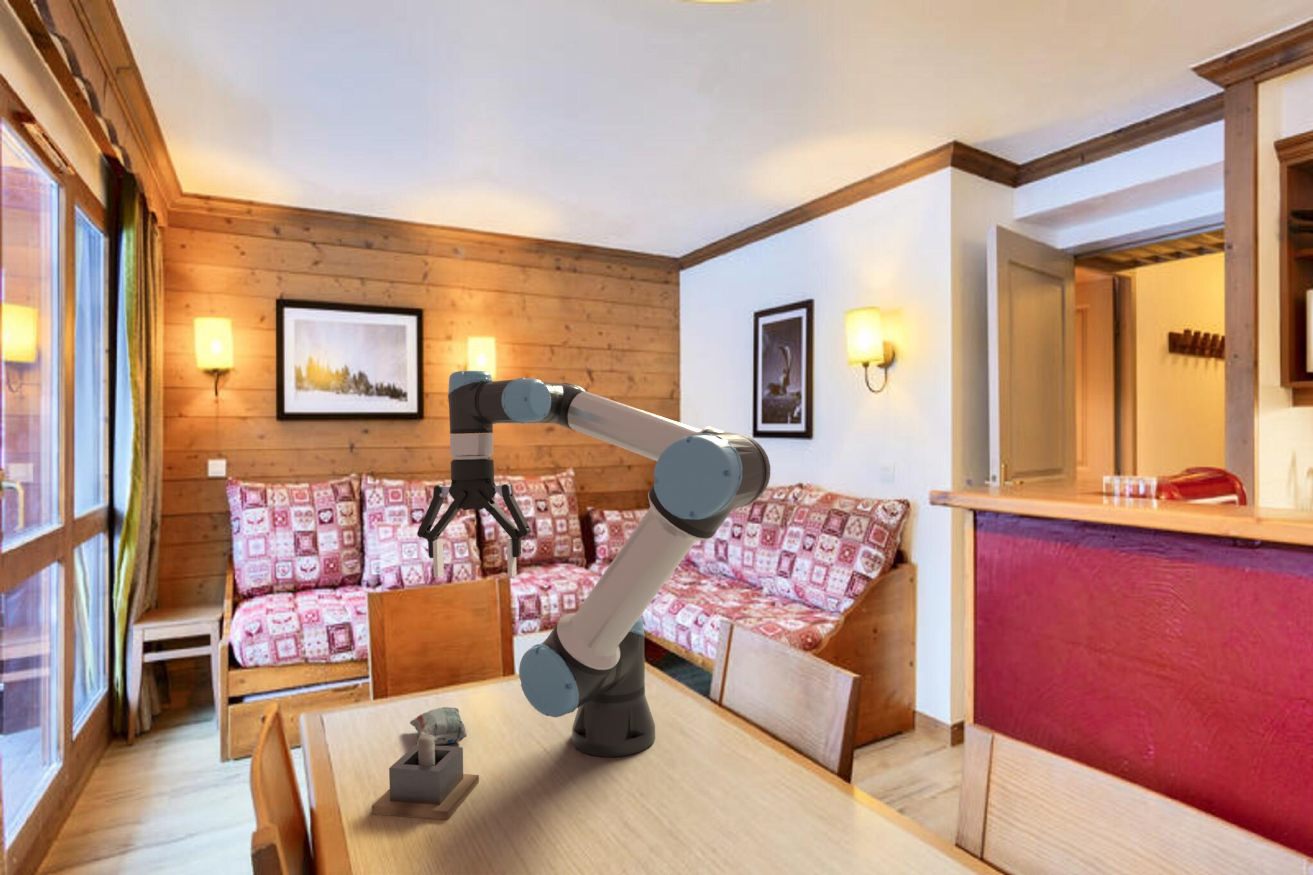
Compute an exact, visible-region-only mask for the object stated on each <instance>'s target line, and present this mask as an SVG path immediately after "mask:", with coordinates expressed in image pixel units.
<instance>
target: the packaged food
mask: <svg viewBox="0 0 1313 875" xmlns="http://www.w3.org/2000/svg"><path fill="white" fill-rule="evenodd" d="M409 724H410V725H411V726H413V727H414V729H415V731H416V732H417V733H418V738H419V737H421V736H424V735H433V736H434V739H435V746H444V745H451V744H454V743H458V742H461V741H463V739H464V738H465V737H467V734H468V733H467V730H466V727H465V724H464V722H463V720H462V718H461V716H460V711H459V709H458V707H448V706H447V707H446V706H443V707H439V708H433V709H430V710H429V711H426V712H424V713H422V714H418V715H417V716H416V717H414V719H412V720H410V721H409ZM416 745H418V741H417V742H416Z"/></svg>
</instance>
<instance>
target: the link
mask: <svg viewBox="0 0 1313 875" xmlns="http://www.w3.org/2000/svg"><path fill="white" fill-rule="evenodd" d="M388 771H389V773H388V774H389V777H388V778H389V789H390V801H393V802H406V803H419V804H433V805H440V804H441V803H442V802H443V801H444V800H445V799H446V798H447V796H448V795H449V794H450V793H451V792H452V791H453V790H454V789H455V787H456V786H457V785H458V784H459V783H460V782H461V781H462V780H463V774H464V749H463V747H462V746H447V745H435V766H422V765H419V759H418V745H417V744H415V745H414V746H412V748H410V749H409V750H408V751H407V752H406V753H405V754H404V755H402V756H401V757H399V759H398V760H397V761H395V762H394V763H393V764H392V765H391V766H390V767H389V768H388Z"/></svg>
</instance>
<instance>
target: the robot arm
mask: <svg viewBox="0 0 1313 875" xmlns="http://www.w3.org/2000/svg"><path fill="white" fill-rule="evenodd" d="M447 398H448V407H449V408H448V409H449V410H448V412H449V413H448V416H449V448H450V449H449V455H450V456H451V457H453V459H451V461H450V481H451V484H450V486H447V485H444V484H438V485H434V487H433V493H432V499H431V501H430V503H429V506H428V508H427V510H426V512H425V515H424V517H423V519H422V522H421V523H420V526H419V527H418V530H417V532H416V535H417V537H419V538H423V539H425V540H427V546H428V549H427V552H428V557H429V558H430V559H433V560H432V561H433V578H440V577H441V576H443V575H445V572H444V571H445V568H444V567H445V566H444V559H445V558H444V539H443V538H440V536H441V534H442V533H444V530H445V529H446V528H447V527H448V526H449V524H450V523H451V522H452V520H453V519H454V518H455V517H456V515H457V514H458V513H459V512H460V511H461V510H463V511H469V510H474V511H481V510H484V509H485V511H486V512H487V513H489V514H490V515H491V517H492V518H494V520H495V521H496V522H497V523H498V524H499V525H500V527H501V528H502V529H503V530H504V531H505V533H506V534H507V535H508V536H509V537H510V538H509V539H506V551H507V552H506V554H507V555H506V557H507V558H506V563H507V578H513V577H514V576H516V575H517V573H518V572H517V558H519V557H520V556H521V555H522V538H523V537H525V536H527V535H530V534H531V532H532V530H531V527H530V524H529V523H528V521H527V519H526V517H525V515H524V513H523V511H522V509H521V508H520V505H519V504H518V502H517V500H516V498H515V496H514V491H513V485H512V483H510V482H509V483H505V484H501V485H496V483H495V464H494V463H495V460H494V459H493V458H491V456H493V455H494V425H495V424H556V425H558V426H561V427H565V428H567V429H569V430H572V431H576V432H578V433H581V434H584V435H586V436H589V437H592V438H594V439H597V440H600V441H602V442H605V443H607V444H611V445H614V446H616V447H619V448H622V449H623V450H626V451H629V452H632V453H634V454H636V455H639V456H642V457H645V458H648V459H650V460H653V461H656V464H655V466H654V470H653V478H654V484H653V485H652V486H651V488H650V490H649V491H648V493H647V498H648V502H649V509H648V510H647V511H646V513H645V514H644V515H643V517H642V519H641V520H640V521H639V523H638V524H637V526H636V527H635V528H634V530H633V531H632V532H631V534H630V536H629V537H628V538H627V540H626V542H625V543H624V545H623V546H622V547H621V549H620V550H619V551H618V553H617V554H616V556H615V557H614V558H613V560H612V562H610V564H609V566H607V568H606V570H605V571H604V572H603V574H602V575H601V576H600V578H599V580H598V581H597V582H596V584H595V585H594V587H593V588H592V590H591V591H590V592H589V594H588V596H587V597H586V598H585V599H584V601H583V603H581V605H580V607H579V609H578V610H577V611H576V612H571V613H567V614H565V615H563V616H562V617H561V618H560V619H559V621H558V622H557V623H556V625H555V626H554V628H553V629H552V630H551V632H550V633H549V635H548V636H547V638H546V639H545V640H544V641H542V642H541V643H537V644H534V645H533V646H531V648H529V649H528V650H527V651H526V652H524V654H523V655H522V657H521V659H520V662H519V667H518V678H519V680H520V686H521V687H520V688H521V690H522V692H523V695H524V696H525V699H526V700H527V701H528V702H529V704H530V705H531V707H533V708H534V709H535V710H536V711H537V712H539V713H540V714H541V715H544V716H545V717H546V716H547V717H551V718H559V717H563V716H565V715H568V714H571V713H573V712H574V711H576V715H575V718H574V721H573V724H572V726H571V727H572V728H571V741H572V745H573V746H574V748H576V749H577V750H579V751H580V752H582V753H585V754H588V755H591V756H596V757H607V758H611V757H613V758H614V757H622V756H623V757H624V756H629V755H634V754H637V753H639V752H642V751H645V750H646V749H648V748H649V747H651V746H652V745H653V743H654V742H655V741H656V723H655V720H654V718H653V714H652V712H651V709H650V705H649V702H648V700H647V697H646V687H645V686H646V682H645V681H646V680H645V679H646V676H645V673H646V670H645V664H646V663H645V637H646V634H645V629H644V620H643V617H641V616H642V615H643V613H644V612H645V611H646V609H648V607H649V605H650V604H651V603H652V602H653V600H654V598H656V596H657V594H659V592H660V590H661V589H662V588H663V586H664V585H665V584H666V582H667V581H668V580H669V579H670V577H671V576H672V574H673V573H674V571H675V570H676V569H677V568H678V566H679V565H680V564H681V563H682V561H683V560H684V559H685V557H686V556H687V554H688V553H689V552H690V550H691V549H692V547H693V546H694V545H695V544H696V543H697V542H698V541H708V540H711V539H712V538H713V537H714V535H715V534H716V532H718V530H719V528H720V527H721V526H722V525H723V523H724V522H725V520H727V518H728V517H729V515H731V513H732V512H733V510H736V509H739V508H744V507H746V506H748V505H751V504H753V503H754V502H755V501H757V500H759V498H760V497H761V496H763V494H764V492H765V491H766V489H767V487H768V485H769V483H770V479H771V463H770V460H769V457H768V454H767V452H766V450H765V449H764V448H763V446H761V444H760V443H759V442H757V441H756V440H755V439H754V438H752V437H750V436H747V435H744V434H740V433H734V432H731V431H730V432H729V431H726V430H722V429H720V428H719V429H718V428H715V427H713V426H706V427H704V428H703V429H699V428H695V427H693V426H690V425H687V424H684V423H681V422H679V421H675V420H672V419H669V418H666V417H664V416H661V415H657V414H654V413H652V412H648V411H647V410H646V411H645V410H642V409H639V408H637V407H633V406H631V405H627V404H624V403H622V402H619V401H616V400H612V399H610V398H607V397H604V396H601V395H599V394H598V395H597V394H596V393H595V394H594V393H592V392H588V391H586V390H585V389H584V388H583V387H582V386H581V385H580V386H579V385H576V384H572V383H568V382H562V383H557V382H547V381H542V380H541V379H538V378H529V377H527V378H526V377H519V378H516V379H515V378H514V379H505V380H496V381H493V379H492V374H491V373H490V372H489V371H484V370H483V371H482V370H464V371H463V370H460V371H459V370H458V371H454V372H452V373H451V374H450V376H449V379H448V394H447ZM496 493H498V495H499V496H500V497H502V499H503V502H504V503H505V505H506V507H507V510H508V512H509V514H510V515H511V517H512V519H513V521H514V523H515V524H514V523H513V521H512V520H511V519H510V518H509V517H508V516H507V515H506V513H505V512H504V511H503V510H502V509H501V507H499V504H498V503H497V502H496V501H495V498H494V496H495V495H496ZM448 495H450V496H451V497H452V499H453V501H452V502H451V503H450V505H449V506H448V507H447V510H446V511H445V513H443V515H442V516H441V518H440V519H439V520H438V521H437V522H436V524H435V525H434V523H435V521H436V518H437V517H438V514H439V512H440V509H441V508H442V505H443V503H444V502H445V501H444V500H445V498H447V496H448ZM433 526H434V527H433ZM432 527H433V528H432Z"/></svg>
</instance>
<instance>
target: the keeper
mask: <svg viewBox="0 0 1313 875" xmlns="http://www.w3.org/2000/svg"><path fill="white" fill-rule="evenodd" d="M417 742H418V759H419V765H422V766H435V746H436V745H435V739H434V736H433V735H424V736H421V737H419V736H418V738H417ZM479 783H480V777H479V774H471V773H463V780H462V781H461V782H460V783H459V784H458V785H457V786H456V787H455V789H454V790H453V791H452V792H451V793H450V794H449V795H448V796H447V798H446V799H445V800H444V801H443V802H442V803H441V804H440V805H433V804H419V803H406V802H393V801H390V788H388V790H387V791H386V792H384V793H383V795H381V797H379V798H378V799H377V800H376V801H375V802H374V803H372V805H371V815H383V816H396V817H407V818H408V817H409V818H420V819H421V818H422V819H423V818H424V819H434V820H449V819H450V818H451V816H453V814H454V813H455V812H456V810H457V809H458V808H459V807H460V806H461V804H463V802H464V801H465V800H466V799H467V797H468V796H469V795H470V794H471V793H472V791H473V790H474V789H475V787H477V785H478V784H479Z"/></svg>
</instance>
